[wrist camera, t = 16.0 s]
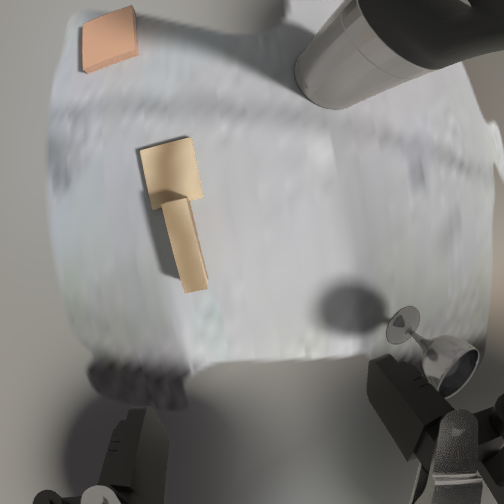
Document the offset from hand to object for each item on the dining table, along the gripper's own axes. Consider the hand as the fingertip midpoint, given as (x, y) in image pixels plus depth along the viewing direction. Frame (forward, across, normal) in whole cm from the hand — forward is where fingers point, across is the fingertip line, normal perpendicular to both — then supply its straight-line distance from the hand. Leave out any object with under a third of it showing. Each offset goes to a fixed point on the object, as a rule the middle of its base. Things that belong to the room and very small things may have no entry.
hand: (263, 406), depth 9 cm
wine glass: (+26, -24, +19) cm, 40 cm away
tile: (+24, +10, -30) cm, 40 cm away
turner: (+25, +5, -5) cm, 26 cm away
